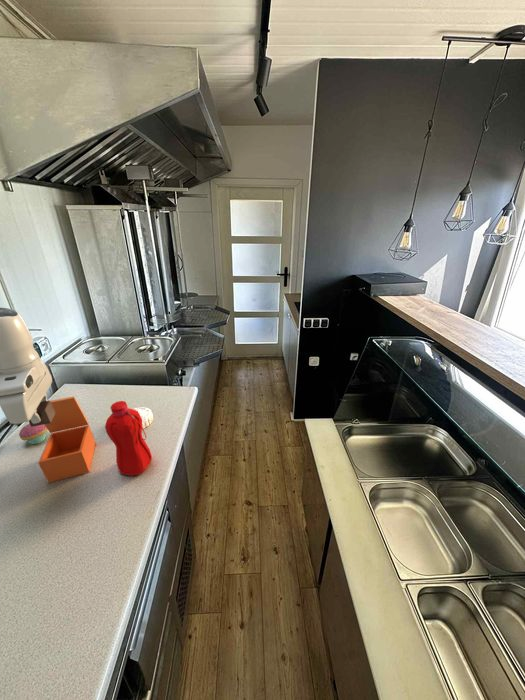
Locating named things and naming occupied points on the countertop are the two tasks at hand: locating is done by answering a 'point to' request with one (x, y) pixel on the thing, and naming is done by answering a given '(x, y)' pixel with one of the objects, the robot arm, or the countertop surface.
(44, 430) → the cupcake
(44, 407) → the block
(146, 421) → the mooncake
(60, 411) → the box lid
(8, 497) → the countertop surface
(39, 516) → the countertop surface
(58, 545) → the countertop surface
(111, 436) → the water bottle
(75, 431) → the box
